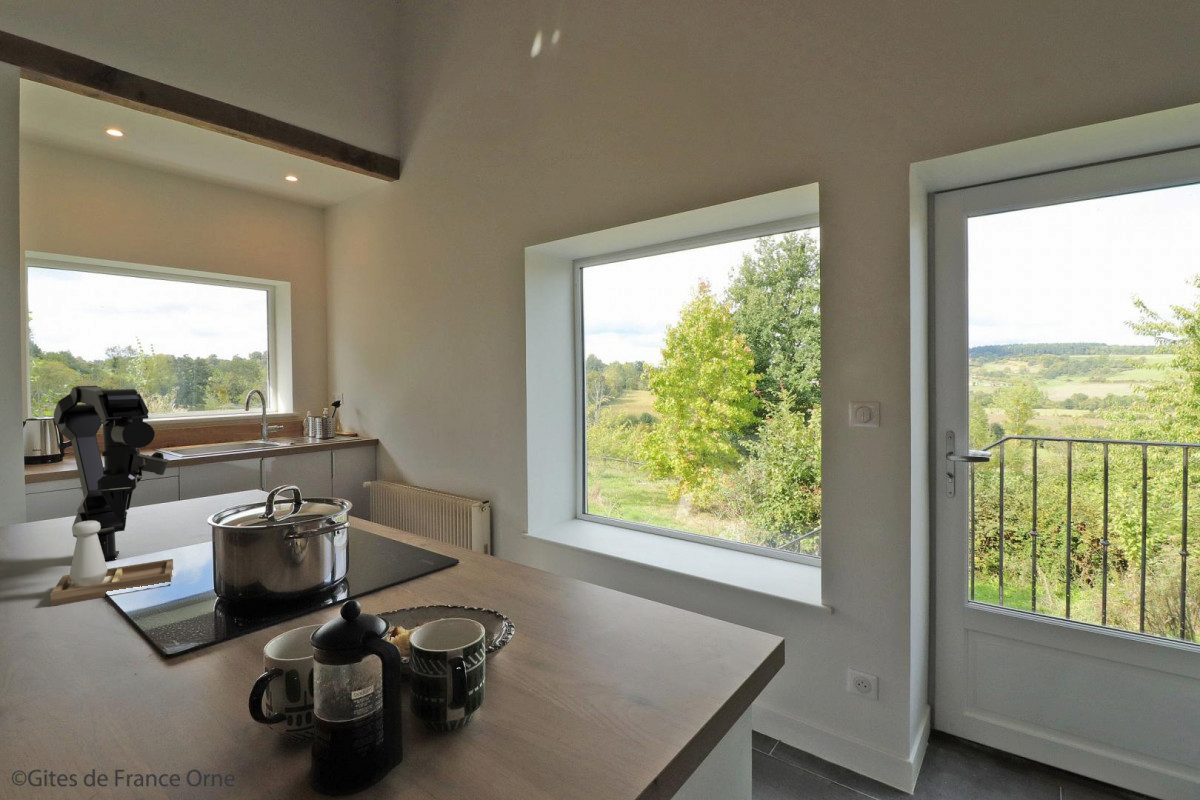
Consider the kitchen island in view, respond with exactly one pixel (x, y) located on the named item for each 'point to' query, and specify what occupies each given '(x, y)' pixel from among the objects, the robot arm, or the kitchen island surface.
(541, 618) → the kitchen island surface
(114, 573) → the brown flat rectangular tray
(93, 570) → the salt shaker
